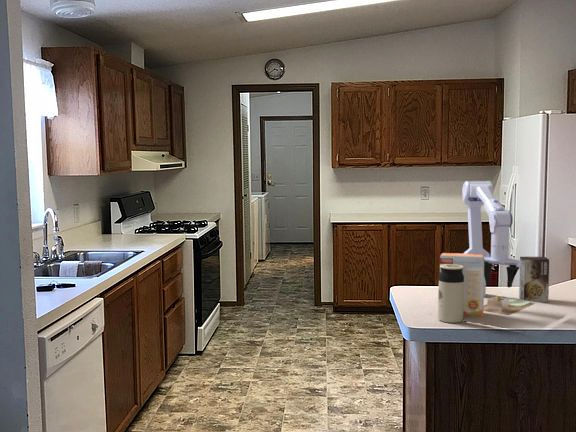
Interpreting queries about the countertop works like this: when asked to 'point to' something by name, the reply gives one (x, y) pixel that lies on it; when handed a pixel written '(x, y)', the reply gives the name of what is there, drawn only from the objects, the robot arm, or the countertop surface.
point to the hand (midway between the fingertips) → (498, 285)
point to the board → (511, 306)
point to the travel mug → (451, 293)
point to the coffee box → (534, 279)
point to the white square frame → (497, 304)
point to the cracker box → (469, 280)
